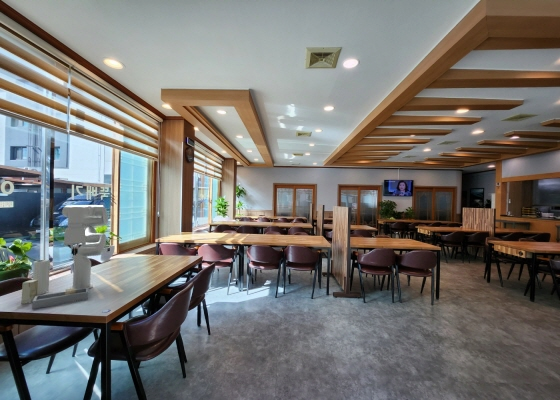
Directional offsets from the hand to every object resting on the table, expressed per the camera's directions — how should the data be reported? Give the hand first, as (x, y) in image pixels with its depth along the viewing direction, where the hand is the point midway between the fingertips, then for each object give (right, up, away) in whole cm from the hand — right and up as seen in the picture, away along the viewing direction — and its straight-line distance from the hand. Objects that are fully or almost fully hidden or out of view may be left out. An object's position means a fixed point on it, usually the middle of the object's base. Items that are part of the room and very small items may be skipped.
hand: (74, 254), depth 151 cm
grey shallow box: (-2, -27, -6) cm, 27 cm away
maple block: (+1, -24, -4) cm, 25 cm away
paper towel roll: (-28, -27, +6) cm, 39 cm away
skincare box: (-20, -27, -8) cm, 34 cm away
